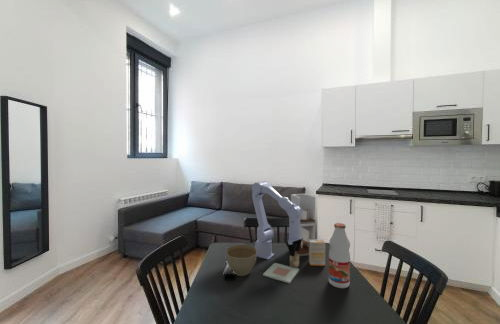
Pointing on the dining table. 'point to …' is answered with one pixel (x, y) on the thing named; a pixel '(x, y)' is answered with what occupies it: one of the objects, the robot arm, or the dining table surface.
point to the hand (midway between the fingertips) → (294, 253)
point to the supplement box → (316, 252)
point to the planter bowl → (241, 258)
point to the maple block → (294, 261)
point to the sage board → (281, 272)
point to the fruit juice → (339, 257)
